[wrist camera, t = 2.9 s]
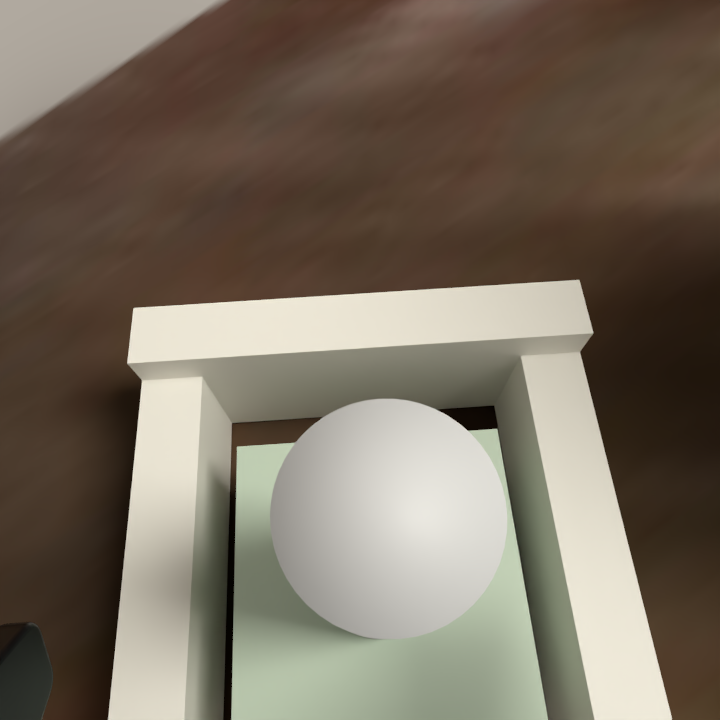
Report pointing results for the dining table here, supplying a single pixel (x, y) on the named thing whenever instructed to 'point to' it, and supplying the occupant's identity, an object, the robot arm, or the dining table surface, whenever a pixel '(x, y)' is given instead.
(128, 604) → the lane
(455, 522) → the handle block
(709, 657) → the dining table surface
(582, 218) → the dining table surface
